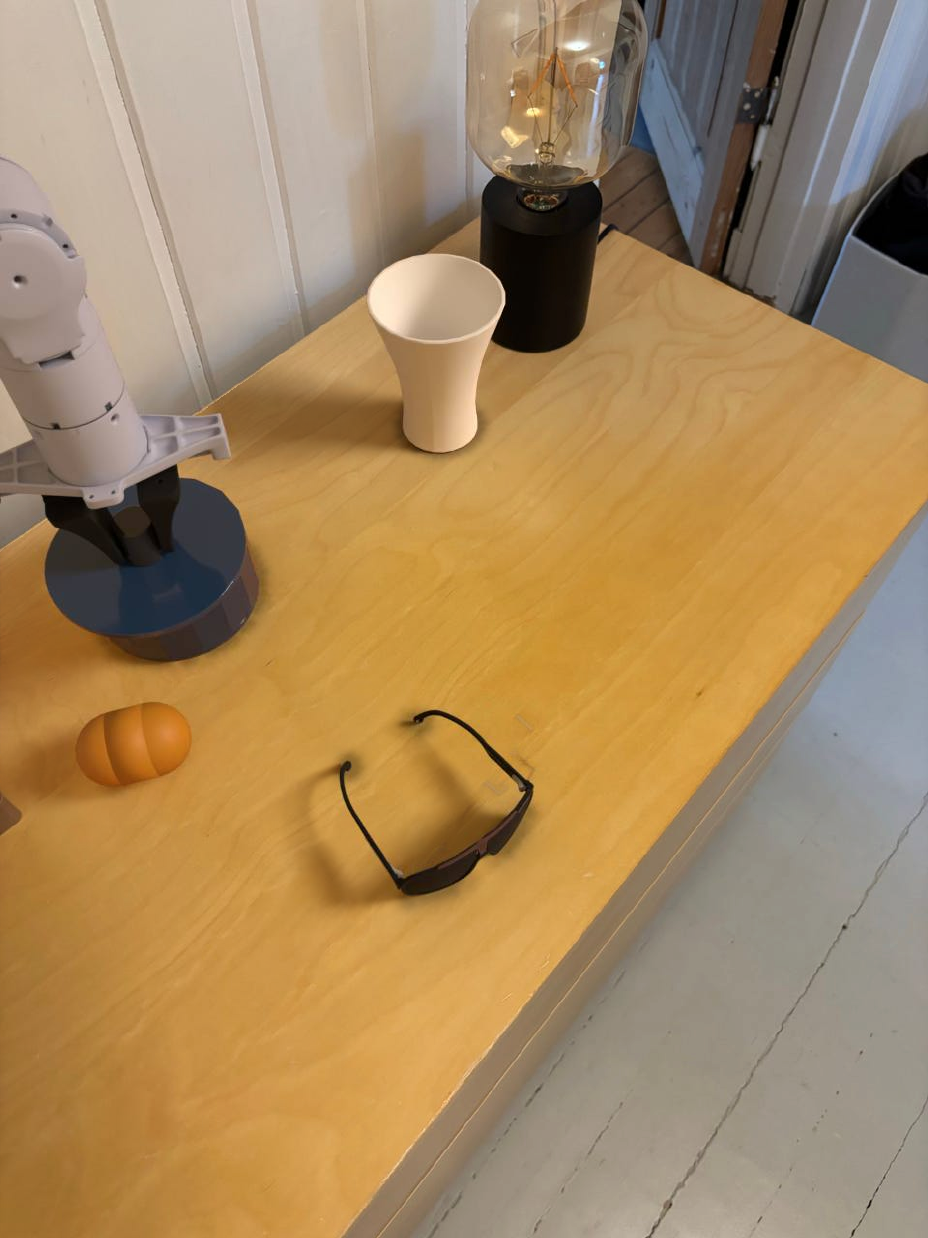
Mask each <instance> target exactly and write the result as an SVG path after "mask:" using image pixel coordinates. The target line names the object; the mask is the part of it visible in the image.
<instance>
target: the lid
mask: <svg viewBox="0 0 928 1238" xmlns="http://www.w3.org/2000/svg"><path fill="white" fill-rule="evenodd" d="M181 478H182V477H180V478H179V480H180V486H181V492H180V501H179V503H178V505H177V507H176V510H175V513H174V517H173V523H172V531H173V538H174V545H175V551H174V552H170V553H164V552H163V550H162V548H161V546H160V543H159V540H158V537H157V534H156V531H155V528H154V526H153V524H152V522H151V521H150V519H149V517H148V516H147V514H146V513H145V512H144V510H143V509H142V508H141V507H140V505H139V502H138V494H137V486H136V484H134V485H132V486H130V487H128V488H126V489H125V490H124V498H123V501H122V502H121V503H119V504H116V505H112V506H108V507H107V508H108V510H109V511H110V513H111V515H112V517H113V519H112V522H111V527H112V530H113V532H114V534H115V536H116V538H117V540H118V542H119V544H120V546H121V548H122V550H123V552H124V554H125V562H124V563H119V564H115V563H114V562H113V561H112V560H111V559H110V558H109V557H108V556H107V555H106V554H104V553H103V552H102V551H101V550H100V549H98V548H97V547H96V546H94V545H93V544H92V543H90V542H89V541H87V540H86V539H84V538H82V537H80V536H78V535H76V534H74V533H72V532H69V531H66V530H63V529H59V528H57V529H58V530H57V531H56V532H55V534H54V535H53V538H52V540H51V541H50V543H49V546H48V549H47V552H46V555H45V561H44V581H45V587H46V589H47V593H48V595H49V596H50V599H51V600H52V602H53V604H54V605H55V607H56V608H57V609H58V610H59V612H60V613H61V614H62V616H64V617H65V618H66V619H67V620H68V621H69V622H70V623H72V624H73V625H75V626H77V627H78V628H80V629H82V630H84V631H86V632H89V633H91V634H93V635H97V636H102V637H105V638H108V637H110V638H117V639H139V638H148V637H154V636H159V635H162V634H166V633H169V632H172V631H175V630H177V629H180V628H182V627H185V626H187V625H189V624H191V623H193V622H194V621H196V620H198V619H200V618H201V617H203V616H204V615H206V614H207V613H209V612H210V611H211V610H212V609H213V608H215V607H216V606H217V605H218V604H219V603H220V602H221V601H222V600H223V599H224V598H225V597H226V596H227V595H228V593H229V592H230V591H231V589H232V588H233V587H234V585H235V584H236V582H237V580H238V578H239V576H240V574H241V572H242V569H243V567H244V564H245V559H246V555H247V538H248V536H247V537H246V535H247V533H246V529H245V526H244V525H245V524H244V521H243V520H241V519H242V517H241V518H240V516H241V514H240V515H239V513H240V512H239V513H238V512H237V510H236V509H235V508H234V506H233V505H232V504H231V503H230V502H229V501H228V500H227V499H226V498H225V497H224V496H223V495H221V494H220V493H219V492H217V491H216V490H214V489H212V488H210V487H208V486H206V485H203V484H201V483H198V482H195V481H191V480H187V479H181Z"/></svg>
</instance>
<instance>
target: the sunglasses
mask: <svg viewBox="0 0 928 1238" xmlns="http://www.w3.org/2000/svg"><path fill="white" fill-rule="evenodd" d="M431 716H436V717H437V716H438V717H442V718H443V719H447V720H449V721H451V722H453V723H455V724H456V725H458V726H460V727H461V728H463V729H464V730H465V731H467V732H468V733H469V734H471V736H473V737H474V739H475V740H477V741H478V742H479V743H480V745H481V746H482V747H483V749H484V751H485V752H486V754H487V755H488V757H489V758H490V759H491V760H492V761H493V762H494V763H495V764H496V765H497V766H498V767H499V768H500V769H502V771H503V772H504V773H506V774H507V775H508V776H509V777H510V778H511V779H512V781H514V782H515V783H516V784H517V786H518V791H519V792H520V793H524V794H523V795H522V796H521V799H520V800H519V801H518V802H517V804H516V805H515V807H514V808H513V809H512V810H511V811H510V812H509V813H508V814H507V815H506V816H505V817H504V818H503V820H502V821H500V822H499V823H498V824H497V825H496V826H495V827H493V828H492V829H491V830H489V831H488V832H487V833H486V834H484V835H482V836H481V837H480V838H478V839H477V840H475V842H473V843H472V844H470V845H469V846H467V848H465V849H463V850H461V851H460V852H458V853H457V854H456V855H454V856H451V857H449V858H448V859H445V860H443V861H442V862H439V863H438V864H436V865H434V866H432V867H428V868H426V869H423V870H421V871H417V872H415V873H411V874H409V875H407V876H406V877H405V878H404V874H403V872H402V870H399V869H396V868H395V867H393V865H392V864H391V862H389V861H388V860H387V858H386V857H385V855H384V853H383V852H382V851H381V849H380V847H379V846H378V845H377V842H375V840H374V838H373V837H372V836H371V833H370V832H369V831H368V829H367V828H366V826H365V825H364V823H363V822H362V820H361V819H360V817H359V815H358V814H357V812H356V810H355V809H354V807H353V806H352V804H351V801H350V799H349V796H348V793H347V789H346V782H345V773H346V772H349V771H351V769H352V763H351V761H350V760H346V761H345V762H344V763H343V764H342V765H341V766H340V769H339V785H340V790H341V794H342V798H343V801H344V803H345V806H346V808H347V810H348V812H349V814H350V816H351V817H352V819H353V820H354V822H355V823H356V825H357V827H358V828H359V830H360V832H361V833H362V835H363V837H364V839H365V840H366V842H367V844H368V845H369V846H370V848H371V849H372V851H373V852H374V854H375V856H376V857H377V859H378V860H379V862H380V863H381V865H382V866H383V867H384V869H385V871H386V873H387V874H388V875H389V877H390V878H391V880H392V882H393V883H394V885H395V886H396V888H397V890H398V891H401V893H402V894H403V895H405V896H411V897H412V896H414V897H415V896H422V895H428V894H432V893H436V892H439V891H443V890H444V889H447V888H450V887H452V886H453V885H456V884H458V883H460V882H461V881H462V880H464V879H466V878H467V877H468V876H469V875H470V874H471V873H472V872H473V871H474V870H475V868H476V867H477V865H478V863H479V862H480V861H481V860H482V859H483V858H484V857H486V856H487V855H490V856H493V857H494V856H496V855H498V854H499V853H500V852H501V851H502V850H503V849H504V847H505V846H506V844H508V842H509V841H510V839H511V838H512V837H513V835H514V834H515V832H516V831H517V829H518V827H519V826H520V824H521V822H522V820H523V818H524V817H525V814H526V812H527V810H528V809H529V806H530V804H531V802H532V799H533V796H534V787H535V785H534V783H532V782H531V781H530V780H529V779H526V778H525V777H524V776H523V775H522V774H521V773H520V772H519V771H518V770H516V769H515V767H513V765H512V764H510V763H509V762H508V761H507V760H506V759H505V757H503V756H502V755H501V754H500V753H498V751H497V750H495V748H494V747H492V746H491V745H490V744H489V743H488V742H487V740H486V739H485V738H484V737H483V736H482V735H481V734H480V733H478V732H477V730H476V729H474V728H473V727H472V726H470V725H469V724H468V723H467V722H465V721H463V720H462V719H460V718H459V717H457V716H455V715H453V714H451V713H448V712H445V711H444V710H440V709H428V710H425V711H423V712H421V713H418V714H416V715H414V716H413V718H412V720H413V723H414V724H417V725H419V724H421V723H423V722H424V720H425V719H426V718H428V717H431Z"/></svg>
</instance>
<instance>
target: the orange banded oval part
mask: <svg viewBox="0 0 928 1238" xmlns="http://www.w3.org/2000/svg"><path fill="white" fill-rule="evenodd" d="M77 736H78V737H77V738H76V743H75V745H74V746H75V748H74V751H75V753H74V754H75V759H76V760H75V761H76V763H77V765H78V768H79V770H80V771H81V772H82V773H83V774H84V776H85V777H86V778H87V779H88V780H90V781H91V782H93V783H95V784H97V785H99V786H103V787H107V788H118V787H119V788H120V787H125V786H129V785H133V784H138V783H140V782H144V781H148V780H152V779H156V778H159V777H160V778H161V777H162V776H165V775H168V774H170V773H172V772H174V771H175V770H177V769H178V768H179V767H180V766H181V765H182V764H183V763H184V762H185V760H186V758H187V757H188V755H189V754H190V751H191V748H192V747H191V746H192V741H193V740H192V737H193V735H192V730H191V726H190V723H189V722H188V720H187V718H186V717H185V715H184V714H182V712H181V711H180V710H178V709H177V708H176V707H174V706H172V705H170V704H167V703H164V702H159V701H158V702H157V701H149V702H143V703H139V704H135V705H130V706H126V707H122V708H118V709H113V710H109V711H106V712H104V713H100V714H98V715H96V716H95V717H94V718H91V719H90V720H89V721H88V722H87V723H86V724H85V725H84V726H83V727H82V728H81V730H80V732H79V734H78V735H77Z"/></svg>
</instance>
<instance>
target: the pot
mask: <svg viewBox="0 0 928 1238" xmlns="http://www.w3.org/2000/svg"><path fill="white" fill-rule="evenodd" d="M179 478H181V479H187V480H191V481H195V482H198V483H201V484H203V485H206V486H208V487H210V488H212V489H214V490H216V491H217V492H219V493H220V494H221V495H223V496H224V497H225V498H226V499H227V500H228V501H229V502H230V503H231V504H232V505H233V506H234V508H235V509H236V510H237V512H238V513H239V515H240V518H241V520H242V516H241V513H240V511H239V509H238V507H237V506H236V505H235V504H234V502H233V501H231V499H230V498H229V497H228V496H227V495H226V494H225V493H224V492H223V490H220V489H219V488H217V487H215V486H212V485H210V484H208V483H206V482H204V481H201V480H200V479H197V478H191V477H181V476H179ZM242 521H243V520H242ZM246 537H247V555H246V559H245V564H244V567H243V569H242V572H241V574H240V576H239V578H238V580H237V582H236V584H235V585H234V587H233V588H232V589H231V591H230V592H229V593H228V595H227V596H226V597H225V598H224V599H223V600H222V601H221V602H220V603H219V604H218V605H217V606H216V607H215V608H213V609H212V610H211V611H210V612H209V613H207V614H206V615H204V616H203V617H201V618H200V619H198V620H196V621H194V622H193V623H191V624H189V625H187V626H185V627H182V628H180V629H177V630H175V631H172V632H169V633H166V634H162V635H159V636H154V637H148V638H139V639H117V638H110V637H107V638H108V639H109V640H110V642H111V643H113V644H114V645H115V646H116V647H117V648H119V649H120V650H121V651H123V652H125V654H129V655H131V656H133V657H136V658H139V659H142V660H146V661H152V662H162V663H163V662H164V663H165V662H166V663H168V662H180V661H185V660H191V659H193V658H196V657H200V656H202V655H205V654H207V653H210V652H212V651H213V650H215V649H217V648H219V647H221V646H222V645H224V644H225V643H227V642H228V641H230V640H231V639H232V638H234V636H235V635H236V634H238V632H239V631H240V630H241V629H242V628H243V627H244V626H245V625H246V623H247V621H248V620H249V618H251V615H252V614H253V611H254V610H255V607H256V604H257V602H258V596H259V590H260V579H259V574H258V571H257V566H256V562H255V557H254V555H253V551H252V549H251V545H250V541H249V538H248V535H247V534H246Z"/></svg>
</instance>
